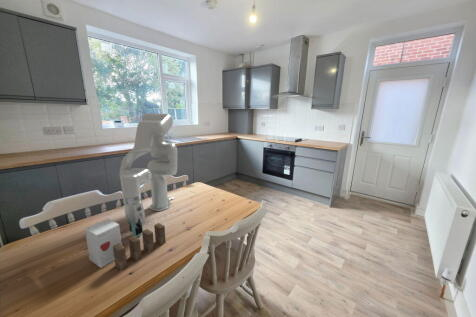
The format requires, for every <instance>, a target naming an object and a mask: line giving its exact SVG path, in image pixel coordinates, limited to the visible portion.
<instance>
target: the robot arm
mask: <svg viewBox="0 0 476 317" xmlns="http://www.w3.org/2000/svg"><path fill="white" fill-rule="evenodd" d="M173 123H174V120H173V116H172V115H171V114H170V113H157V112H156V113H154V112H149V113H148V112H147V113H144V114H143V115H142V116H141V121H139V122H138V124H137V127H136V133H135V138H134V145H133V148H132V149H131V150H130V151H129V152H127V153H126V154H125V156H124V157H123V159H122V161H121V164H120V167H119V180H120V186H121V192H122V199H123V200H122V201H123V204H124V206H123V207H124V215H125V218H126V219H127V220H128V224H129V232H130V233H132V230H131V223H130V221H132V222H134V223H135V226H136V228H135V232H136V235H139V234H141V235H142V231H143V225H145V222H144V220H145V219H146V214H145V207H144V205H143V201H142V194H141V193H142V192H141V186H142V185H145V184H147V183H149V182H150V190H151V191H150V192H151V202H152V203H151V204H150V205H149V209H150V211H154V212H162V211H165V210H168V209H169V208H170V207H171V202H172V201H173V200H175V198H174V196H171V197H170V196H168V182H167V179H166V177H165V176H175V175H176V174H177V172H178V147H177V145H176V144H175V143H173V142H166V135H167V134H168V132H169V131H170V129H171V128H172V126H173ZM148 153H150V156H151V157H153V158H156V159H154V160H153V159H152V160H150V161H149V162H148V164H147V168H138V167H137V168H135V167H134V168H133V167H132V164H133V162H134V161H135V160H136V159H138V158H140V157H141V156H144V155H147V154H148ZM157 158H158V159H157ZM138 222H140V223H139V224H138V225H137V223H138Z"/></svg>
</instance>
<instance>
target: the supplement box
mask: <svg viewBox="0 0 476 317" xmlns="http://www.w3.org/2000/svg"><path fill="white" fill-rule="evenodd" d="M84 233H85V238H86V244H87V250H88V259H89V261H91V262H92V263H94V264H95V265H96V266H98V267H99V268H100V269H102V268H103V267H106V266H107V265H109V264H110V263H111V262H114V261H115V259H114V252H113V246H115V245H117V244H118V243H120V244H121V245H122V238H121V229H120V224H119V223H118V222H115V221H113V220H111V219H110V218H107V219H106V218H105V219H104V220H101V221H99V222H96V223H93V225H89V226H87V227H85V228H84Z"/></svg>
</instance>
